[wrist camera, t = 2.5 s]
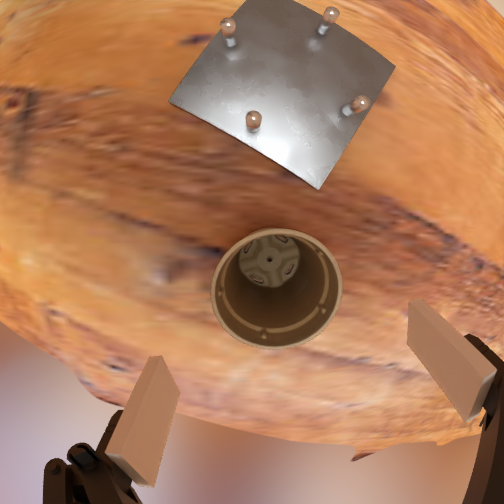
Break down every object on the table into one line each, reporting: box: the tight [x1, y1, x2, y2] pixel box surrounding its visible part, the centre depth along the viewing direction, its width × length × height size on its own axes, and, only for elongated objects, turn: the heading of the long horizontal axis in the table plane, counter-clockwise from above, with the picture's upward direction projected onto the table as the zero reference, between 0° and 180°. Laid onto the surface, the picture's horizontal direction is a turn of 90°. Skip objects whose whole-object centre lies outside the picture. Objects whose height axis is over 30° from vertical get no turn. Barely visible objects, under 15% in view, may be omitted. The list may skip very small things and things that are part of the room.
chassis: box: [168, 0, 396, 190], centre depth 20 cm, size 16×16×5 cm
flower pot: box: [211, 227, 343, 350], centre depth 24 cm, size 9×9×9 cm
